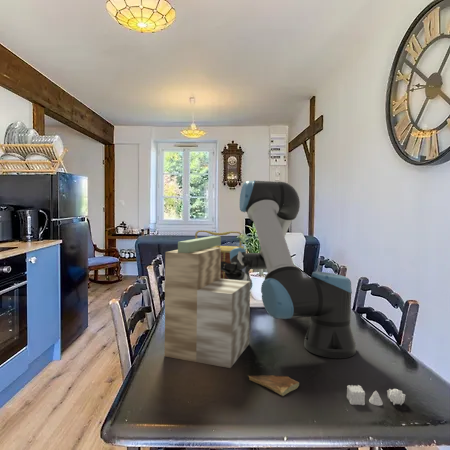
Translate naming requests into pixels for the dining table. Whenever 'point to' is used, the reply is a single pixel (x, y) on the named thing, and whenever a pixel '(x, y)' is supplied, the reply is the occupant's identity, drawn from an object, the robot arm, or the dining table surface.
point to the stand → (204, 309)
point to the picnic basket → (223, 249)
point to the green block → (198, 244)
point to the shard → (276, 383)
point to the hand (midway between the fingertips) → (221, 253)
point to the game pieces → (358, 396)
